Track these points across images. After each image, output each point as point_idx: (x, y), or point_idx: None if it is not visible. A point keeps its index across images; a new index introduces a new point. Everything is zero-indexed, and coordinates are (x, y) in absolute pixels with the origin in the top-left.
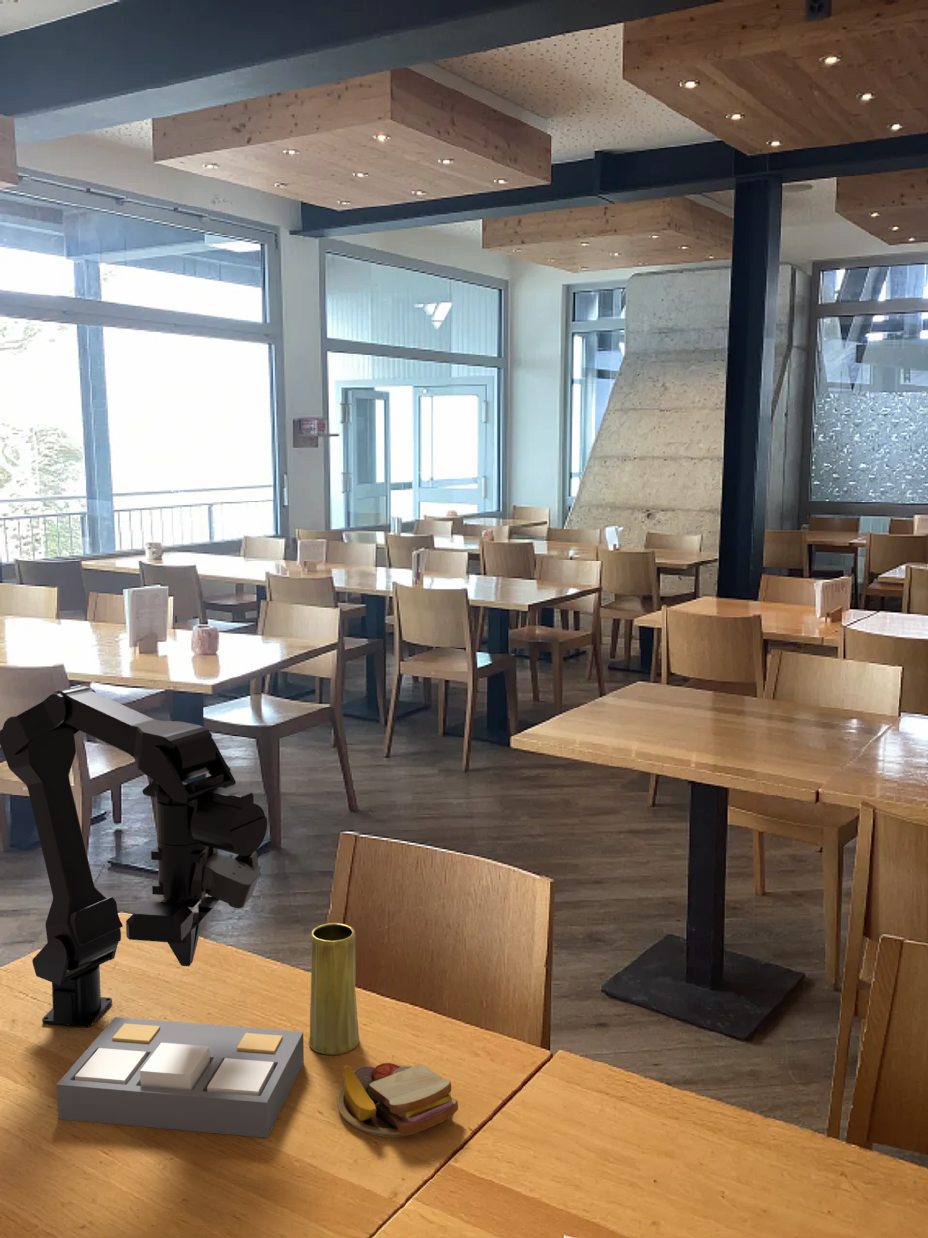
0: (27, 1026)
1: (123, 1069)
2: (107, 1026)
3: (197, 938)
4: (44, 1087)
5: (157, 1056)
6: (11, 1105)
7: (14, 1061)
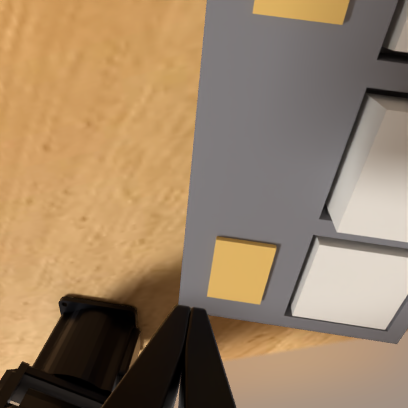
0: None
1: (383, 269)
2: (210, 314)
3: (131, 402)
4: None
5: (404, 228)
6: (326, 343)
7: (224, 358)
